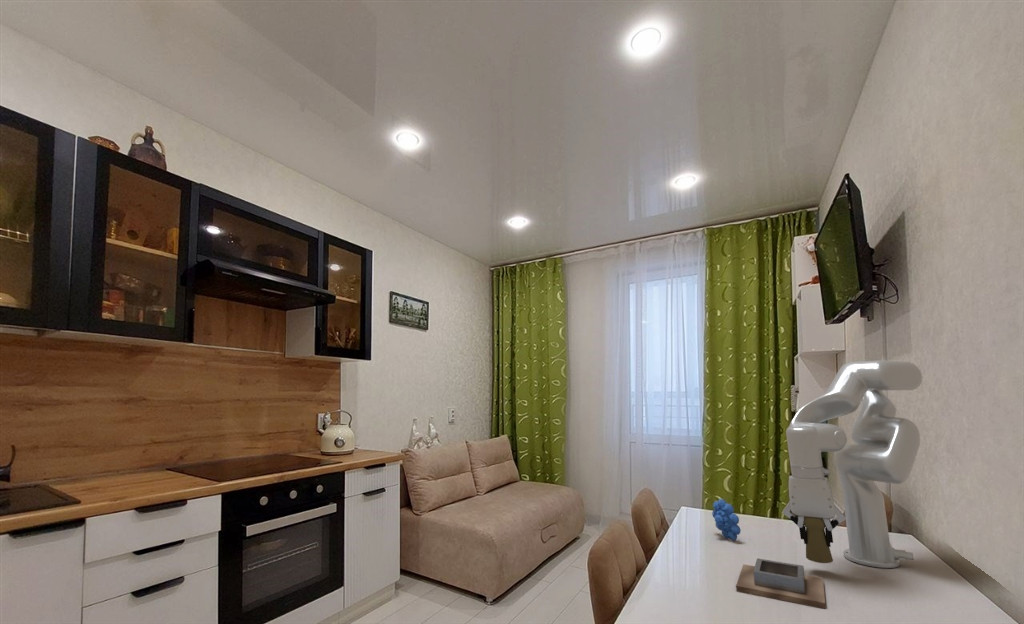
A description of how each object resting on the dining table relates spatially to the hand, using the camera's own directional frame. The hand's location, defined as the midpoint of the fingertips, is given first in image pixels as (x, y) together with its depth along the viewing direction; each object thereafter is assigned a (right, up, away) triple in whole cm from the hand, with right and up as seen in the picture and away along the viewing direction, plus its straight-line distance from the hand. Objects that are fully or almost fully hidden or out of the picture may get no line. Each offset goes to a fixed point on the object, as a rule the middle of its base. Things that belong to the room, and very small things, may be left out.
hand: (817, 543), depth 123 cm
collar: (-15, -5, -9) cm, 18 cm away
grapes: (-12, -13, +27) cm, 32 cm away
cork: (0, -4, -1) cm, 4 cm away
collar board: (-15, -6, -9) cm, 19 cm away
